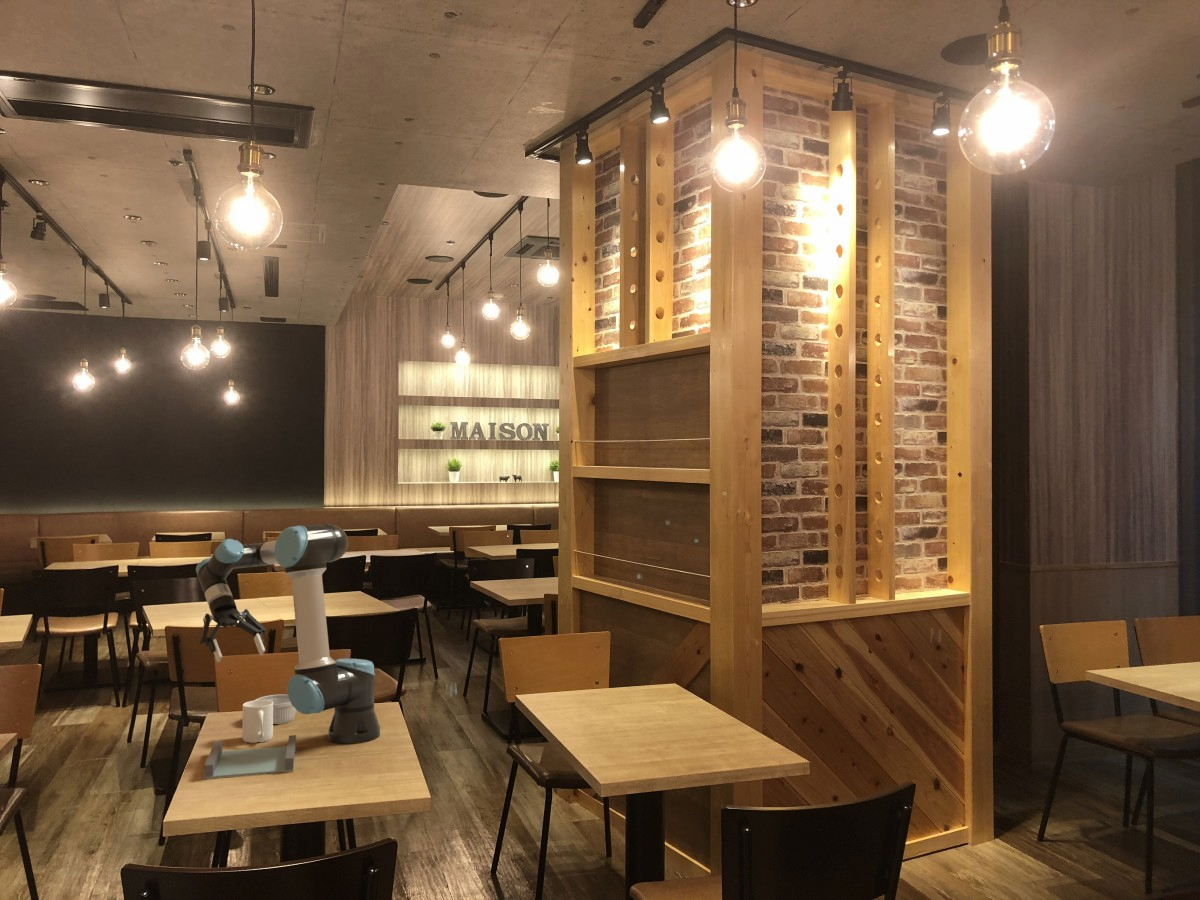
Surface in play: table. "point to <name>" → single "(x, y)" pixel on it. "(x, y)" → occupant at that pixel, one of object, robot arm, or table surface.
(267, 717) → the mug
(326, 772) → the table surface
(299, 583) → the robot arm
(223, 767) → the tray with side rails
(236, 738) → the table surface
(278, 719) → the ramekin
